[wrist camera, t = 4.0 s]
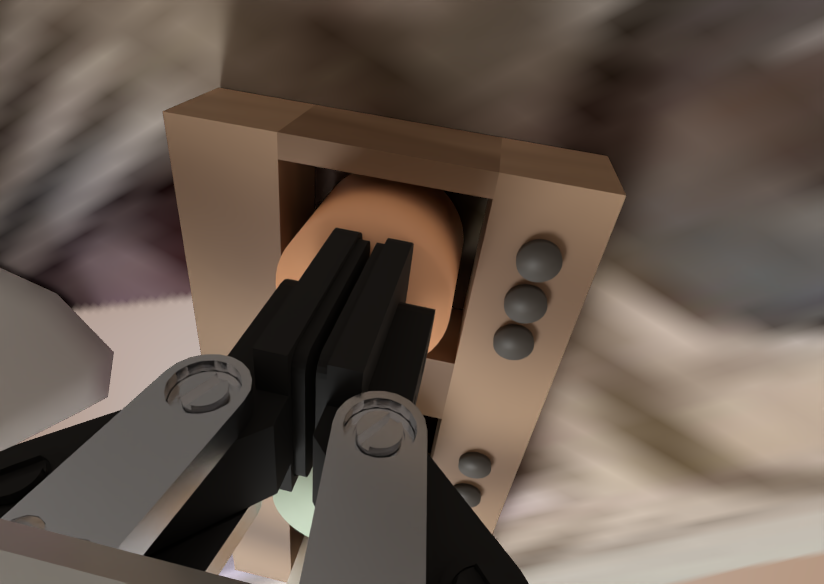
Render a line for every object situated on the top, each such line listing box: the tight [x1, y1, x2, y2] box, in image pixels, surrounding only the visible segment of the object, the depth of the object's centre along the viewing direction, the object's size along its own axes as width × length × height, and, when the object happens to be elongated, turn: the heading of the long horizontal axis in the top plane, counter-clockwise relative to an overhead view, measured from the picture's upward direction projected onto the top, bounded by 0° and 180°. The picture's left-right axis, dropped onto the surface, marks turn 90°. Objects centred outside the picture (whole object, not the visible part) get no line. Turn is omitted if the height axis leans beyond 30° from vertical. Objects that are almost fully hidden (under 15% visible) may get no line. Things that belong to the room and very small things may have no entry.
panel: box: [163, 88, 626, 582], centre depth 17 cm, size 20×10×3 cm, turn 173°
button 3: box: [276, 173, 463, 353], centre depth 12 cm, size 4×4×3 cm
